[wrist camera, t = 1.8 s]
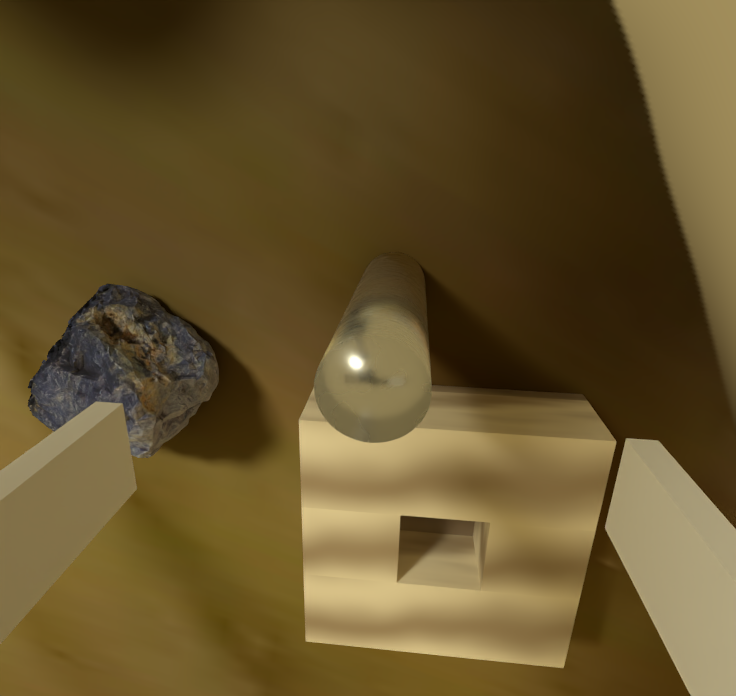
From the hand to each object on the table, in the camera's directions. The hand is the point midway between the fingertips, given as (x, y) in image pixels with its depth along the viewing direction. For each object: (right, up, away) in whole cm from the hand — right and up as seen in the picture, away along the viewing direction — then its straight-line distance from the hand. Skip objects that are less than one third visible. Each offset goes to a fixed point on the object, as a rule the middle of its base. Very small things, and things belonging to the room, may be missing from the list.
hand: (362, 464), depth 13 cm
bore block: (+5, -8, +24) cm, 26 cm away
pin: (+2, +7, +19) cm, 20 cm away
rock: (-15, +2, +23) cm, 27 cm away
